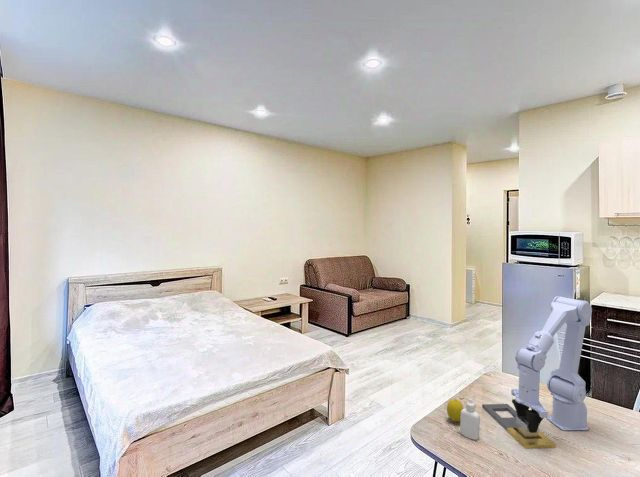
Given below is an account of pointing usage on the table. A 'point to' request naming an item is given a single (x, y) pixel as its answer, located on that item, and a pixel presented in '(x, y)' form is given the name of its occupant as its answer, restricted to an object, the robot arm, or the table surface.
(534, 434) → the grey cube with hole
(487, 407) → the rail
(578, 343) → the robot arm
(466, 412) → the eye dropper bottle
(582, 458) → the table surface
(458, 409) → the lemon
